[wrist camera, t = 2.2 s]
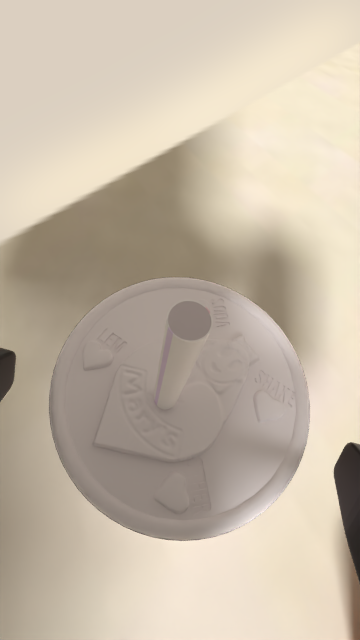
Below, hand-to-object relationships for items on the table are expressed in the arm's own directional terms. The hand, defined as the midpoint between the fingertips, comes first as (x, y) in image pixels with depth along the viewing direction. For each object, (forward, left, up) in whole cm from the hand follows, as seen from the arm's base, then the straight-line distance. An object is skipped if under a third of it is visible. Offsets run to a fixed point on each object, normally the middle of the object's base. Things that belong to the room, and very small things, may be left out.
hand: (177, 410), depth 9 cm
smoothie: (0, 0, -9) cm, 9 cm away
